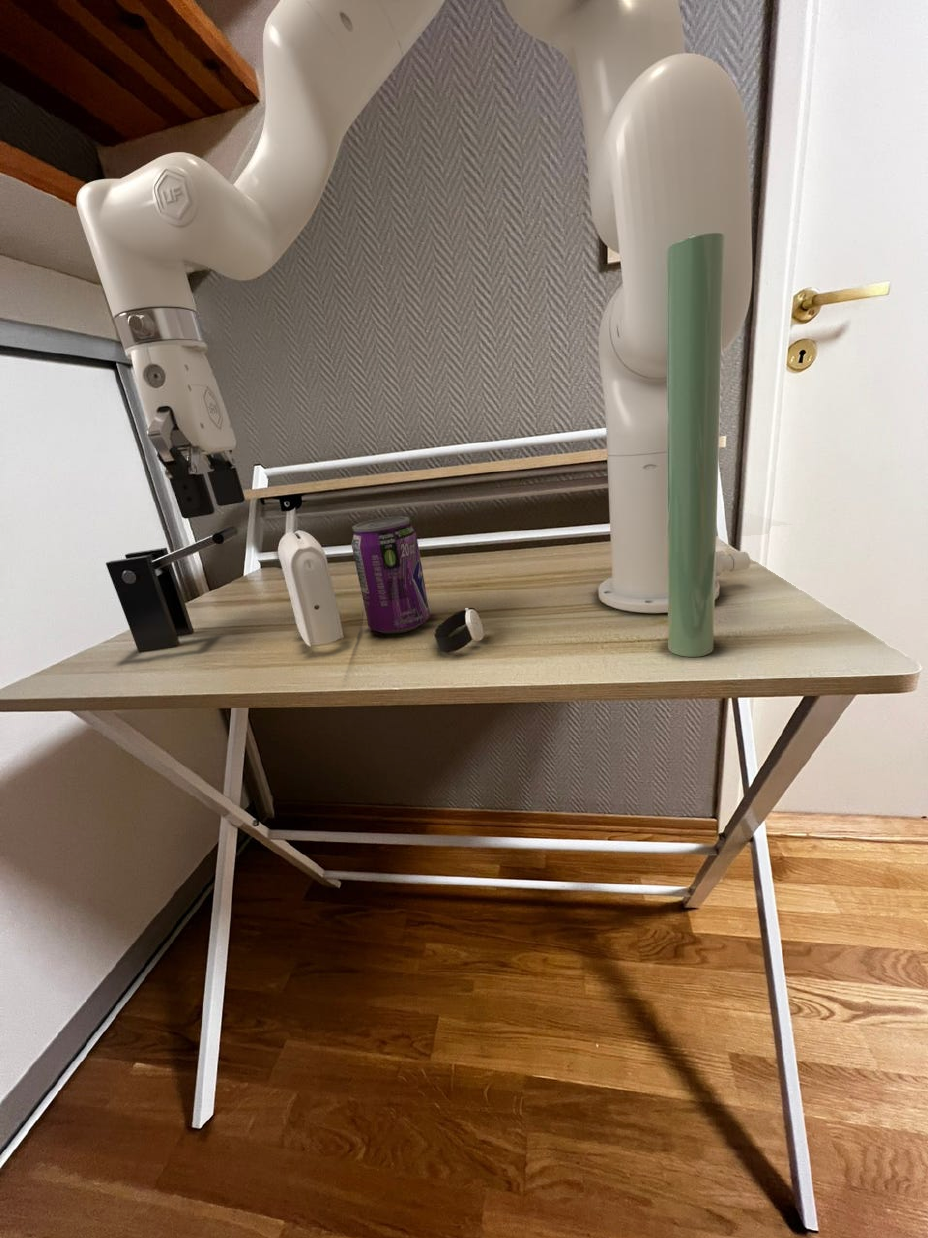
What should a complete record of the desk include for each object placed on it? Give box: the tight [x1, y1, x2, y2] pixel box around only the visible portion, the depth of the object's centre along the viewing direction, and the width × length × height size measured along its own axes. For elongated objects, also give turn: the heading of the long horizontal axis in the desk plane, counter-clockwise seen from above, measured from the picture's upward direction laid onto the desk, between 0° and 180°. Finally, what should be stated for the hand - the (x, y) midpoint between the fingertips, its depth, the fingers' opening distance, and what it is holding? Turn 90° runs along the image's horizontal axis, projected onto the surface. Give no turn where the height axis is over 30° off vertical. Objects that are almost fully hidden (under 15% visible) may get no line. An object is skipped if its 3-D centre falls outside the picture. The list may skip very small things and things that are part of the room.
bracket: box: [105, 547, 195, 654], centre depth 62 cm, size 9×6×12 cm, turn 94°
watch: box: [434, 607, 484, 654], centre depth 54 cm, size 8×5×4 cm, turn 167°
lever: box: [149, 525, 238, 576], centre depth 61 cm, size 13×4×2 cm, turn 95°
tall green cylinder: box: [667, 233, 725, 658], centre depth 41 cm, size 4×4×30 cm
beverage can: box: [351, 515, 431, 635], centre depth 59 cm, size 7×7×12 cm
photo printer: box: [277, 529, 345, 647], centre depth 59 cm, size 10×4×12 cm, turn 25°
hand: (216, 509), depth 59 cm, fingers open, 9 cm apart
